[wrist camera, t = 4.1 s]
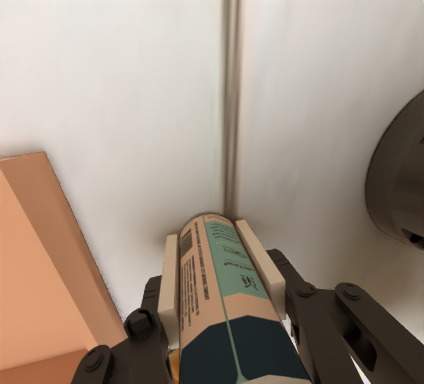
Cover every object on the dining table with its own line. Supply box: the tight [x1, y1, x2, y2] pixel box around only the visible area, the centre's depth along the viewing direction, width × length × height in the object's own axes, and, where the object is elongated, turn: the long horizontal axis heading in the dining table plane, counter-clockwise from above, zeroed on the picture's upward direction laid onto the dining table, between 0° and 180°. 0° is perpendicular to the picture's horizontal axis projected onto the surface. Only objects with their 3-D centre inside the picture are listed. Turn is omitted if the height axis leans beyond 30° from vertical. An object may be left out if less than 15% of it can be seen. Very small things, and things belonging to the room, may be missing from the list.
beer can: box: [179, 214, 313, 384], centre depth 11 cm, size 5×5×12 cm
